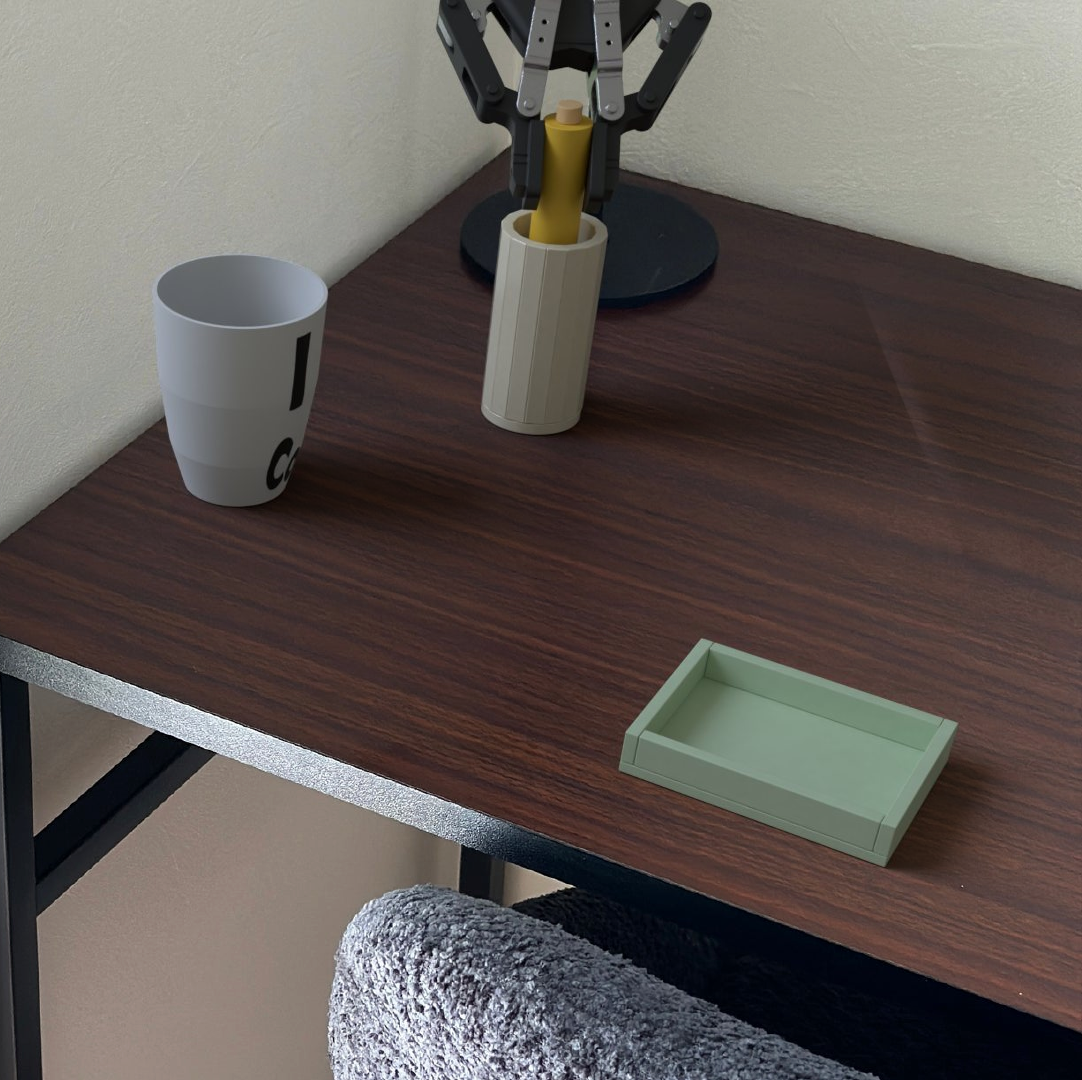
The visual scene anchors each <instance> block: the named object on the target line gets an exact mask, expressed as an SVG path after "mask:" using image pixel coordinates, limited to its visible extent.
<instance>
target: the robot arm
mask: <svg viewBox="0 0 1082 1080" xmlns="http://www.w3.org/2000/svg"><path fill="white" fill-rule="evenodd" d="M490 13H491V14H492V16H493V17H494V19H495V21H496V22H497V24H498V25H499V27H500V28H501V29H502V31H503V32H504V33H505V35H506V36H507V38H508V39H509V41H510V42H511V44H512V45H513V47H514V48H515V50H516V51H517V53H518V54H519V55H520V56H521V58H522V64H521V70H520V75H519V81H518V86H517V90H514V89H512V88H509V87H507V86H505V83H504V81H503V79H502V77H501V75H500V72H499V70H498V68H497V66H496V64H495V62H494V59H493V57H492V55H491V53H490V51H489V49H488V47H487V45H486V43H485V42H486V41H484V38H485V35H486V31H487V25H488V19H487V15H488V14H490ZM712 17H713V11H712V9H711V6H709V4H707V3H705V2H703V1H696V2H693V3H691V4H690V5H689V6H688V5H686V4H685V3H683V2H681V1H679V0H439V5H438V10H437V18H436V25H435V31H436V32H437V35H438V37H439V39H440V41H441V43H442V46H443V48H444V50H445V52H446V54H447V57H448V58H449V61H450V63H451V65H452V67H453V70H454V72H455V74H456V76H457V78H458V80H459V82H460V85H461V87H462V89H463V91H464V93H465V95H466V98H467V99H468V101H469V103H470V106H471V108H472V110H473V113H474V115H475V117H476V119H477V121H479V122H480V123H482V124H484V125H491V124H493V123H494V124H497V125H499V126H501V127H504V128H505V129H506V130H507V131H508V133H509V134H510V138H511V143H510V144H511V145H510V167H509V185H508V188H509V190H510V194H511V196H512V198H519V199H521V200H522V202H521V209H522V210H537V208H538V204H539V201H540V197H541V188H542V169H543V150H544V130H545V120H543V119H542V118H541V117H542V108H543V104H544V98H545V93H546V87H547V81H548V75H549V72H550V71H557V70H560V69H561V70H562V69H567V68H569V69H573V70H576V71H580V72H582V73H585V80H586V81H585V83H586V94H587V98H588V99H589V108H590V119H592V121H593V129H592V137H591V144H590V152H589V159H588V166H587V174H586V181H585V191H584V198H583V213H586V214H600V210H601V208H602V205H603V203H610V202H611V200H612V198H613V195H614V194H615V192H616V189H617V186H618V183H619V180H620V160H621V139H622V138H621V137H622V136H623V135H624V134H625V133H628V132H631V131H634V130H635V131H637V132H640V133H642V132H643V133H644V132H647V131H650V130H651V128H652V127H653V126H654V124H655V122H656V121H657V119H658V117H659V116H660V113H661V112H662V110H663V109H664V107H665V105H666V103H667V102H668V101H669V99H670V97H671V95H672V94H673V92H674V90H675V89H676V87H677V85H678V83H679V82H680V80H681V78H682V76H683V75H684V73H685V71H686V70H687V68H688V66H689V64H690V63H691V62H692V59H693V58H694V57H695V55H696V53H697V51H698V50H699V48H700V46H701V45H702V43H703V39H704V37H705V35H706V33H707V31H708V28H709V24H710V23H711V20H712ZM651 20H653V21H654V22H655V23H656V25H657V29H658V30H657V33H656V37H655V43H656V46H657V47H658V48H659V49H660V50H661V53H660V55H659V57H658V59H657V60H656V62H655V64H654V65H653V67H652V68H651V70H650V72H649V74H647V77H646V79H645V80H644V82H643V83H642V86H640V89H639V90H638V91H636V92H632V93H629V94H626V95H625V94H624V82H623V80H624V79H623V69H624V52H625V51H626V50H627V49H628V48H629V46H631V44H632V43H633V42H634V41H635V40H636V39H637V37H638V36H639V35H640V33H641V32H642V31H644V29H645V28H646V26H647V25H648V24H649V23H650V21H651Z"/></svg>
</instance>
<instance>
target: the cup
mask: <svg viewBox="0 0 1082 1080" xmlns="http://www.w3.org/2000/svg"><path fill="white" fill-rule="evenodd" d="M328 296H329V291H328V287H327V284H326V283H325V281H324V280H323V278H321V277H320V276H319V275H318V274H317V273H315V272H314V271H313V270H311V269H309V268H307V267H306V266H303V265H301V264H299V263H296V262H294V261H290V260H287V259H283V258H279V257H275V256H269V255H262V254H253V253H218V254H217V253H216V254H210V255H203V256H198V257H194V258H189V259H186V260H183V261H180V262H178V263H176V264H174V265H172V266H169V267H168V268H166V269H165V270H163V271H162V272H161V273H160V274H159V275H158V276H157V277H156V279H155V280H154V282H153V283H152V302H153V303H152V305H153V319H154V335H155V350H156V363H157V364H156V365H157V376H158V381H159V382H158V383H159V386H160V393H161V398H162V404H163V410H164V415H165V421H166V426H167V427H166V428H167V432H168V438H169V441H170V444H171V447H172V450H173V453H174V457H175V459H176V462H177V465H178V468H179V471H180V473H181V478H182V479H183V484H184V485H185V488H186V489H187V490H188V491H189V492H190V494H192V495H193V496H194V497H196V498H197V499H200V500H202V501H204V502H206V503H210V504H213V505H217V506H223V507H250V506H251V507H252V506H257V505H260V504H264V503H267V502H269V501H271V500H274V499H275V498H277V497H278V496H280V495H281V494H282V493H283V492H284V490H285V488H286V486H287V484H288V481H289V478H290V476H291V473H292V472H293V471H292V470H293V468H294V466H295V463H296V461H297V458H298V457H299V454H300V452H301V451H300V450H301V448H302V446H303V444H304V440H305V435H306V431H307V426H308V423H309V419H310V413H311V409H312V405H313V400H314V396H315V392H316V387H317V383H318V379H319V373H320V364H321V356H322V348H323V347H322V346H323V339H324V329H325V320H326V313H327V306H328V305H327V304H328Z"/></svg>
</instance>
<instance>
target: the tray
mask: <svg viewBox="0 0 1082 1080" xmlns="http://www.w3.org/2000/svg"><path fill="white" fill-rule="evenodd" d="M959 724H960V723H959V722H957V721H954V720H950V719H948V718H944V717H941V716H938V715H935V714H933V713H929V712H926V711H924V710H920V709H917V708H914V707H911V706H909V705H905V704H902V703H899V702H896V701H893V700H889V699H887V698H883V697H881V696H878V695H875V694H872V693H869V692H866V691H863V690H860V689H857V688H854V687H850V686H848V685H845V684H841V683H838V682H836V681H832V680H830V679H826V678H823V677H821V676H818V675H815V674H811V673H809V672H806V671H803V670H800V669H797V668H794V667H790V666H787V665H784V664H782V663H778V662H775V661H772V660H769V659H766V658H763V657H761V656H757V655H754V654H751V653H748V652H746V651H742V650H739V649H736V648H733V647H731V646H727V645H725V644H721V643H718V642H714V641H713V640H709V639H706V638H700V640H699V641H698V642H697V643H696V644H695V646H693V648H692V649H691V651H690V652H689V653H688V654H687V656H686V657H685V658H684V659H683V661H681V663H680V664H679V665H678V667H677V668H676V669H675V670H674V672H673V673H672V674H671V675H670V677H668V679H667V680H666V681H665V683H663V685H662V686H661V687H660V689H659V690H658V691H657V692H656V694H655V695H654V696H653V697H652V698H651V700H649V702H648V703H647V705H646V706H645V707H644V709H643V710H641V712H640V714H638V716H637V717H636V718H635V720H634V721H633V722H632V723H631V725H630V726H629V727H628V728H627V729H626V731H625V732H624V733H625V734H624V739H623V744H622V750H621V755H620V761H619V766H618V771H619V772H622V773H624V774H627V775H630V776H632V777H636V778H638V779H641V780H644V781H646V782H649V783H652V784H654V785H657V786H660V787H663V788H665V789H669V790H670V791H674V792H676V793H679V794H682V795H685V796H687V797H691V798H692V799H695V800H698V801H702V802H704V803H707V804H710V805H713V806H715V807H718V808H720V809H723V810H726V811H728V812H731V813H734V814H736V815H739V816H743V817H745V818H747V819H751V820H753V821H756V822H759V823H760V824H761V823H762V824H764V825H767V826H770V827H772V828H776V829H778V830H781V831H784V832H785V833H789V834H792V835H794V836H797V837H800V838H802V839H806V840H809V841H811V842H814V843H816V844H819V845H822V846H824V847H828V848H831V849H833V850H835V851H838V852H840V853H844V854H846V855H850V856H852V857H854V858H858V859H861V860H863V861H866V862H869V863H871V864H874V865H877V866H880V867H881V868H885V867H886V866H887V865H888V862H889V861H890V859H891V857H892V856H893V854H894V852H895V850H896V849H897V848H898V846H899V844H900V842H901V841H902V838H904V835H905V834H906V832H907V830H908V829H909V827H910V825H911V824H912V823H913V820H914V819H915V817H916V815H917V813H918V812H919V810H920V808H921V807H922V805H923V803H924V802H925V800H926V798H927V797H928V795H929V793H930V791H931V790H932V788H933V787H934V785H935V783H936V781H937V780H938V778H939V776H940V775H941V774H942V771H943V769H945V766H946V764H947V762H948V760H949V758H950V754H951V750H952V748H953V744H954V741H955V737H956V734H957V731H958V729H959Z"/></svg>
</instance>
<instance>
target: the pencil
mask: <svg viewBox="0 0 1082 1080" xmlns="http://www.w3.org/2000/svg"><path fill="white" fill-rule="evenodd" d="M583 110H584V104H583V103H582V102H580V101H578V100H574V99H564V100H561V101H558V103H557V106H556V112H552V113H549V114H546V115H545V116H544V117H543V119H542V120H545V130H544V150H543V169H542V188H541V197H540V201H539V204H538V208H537V210H532V216H531V225H530V233H529V239H530V240H532V241H535V242H540V243H545V244H551V245H571V244H577V243H578V235H579V228H580V220H581V213H582V212H583V207H584V191H585V181H586V174H587V166H588V159H589V152H590V144H591V137H592V129H593V121H592V119H591V117H589V116H588V115H584V114H583Z"/></svg>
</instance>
